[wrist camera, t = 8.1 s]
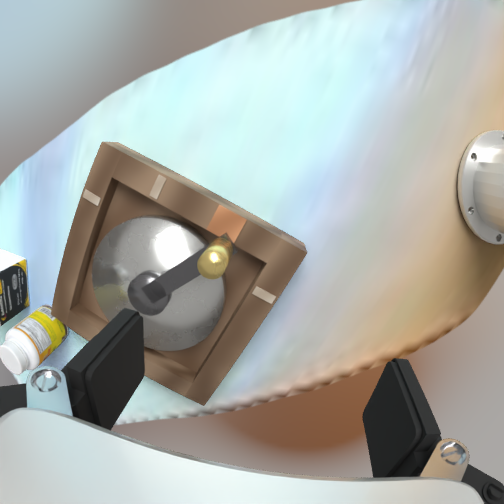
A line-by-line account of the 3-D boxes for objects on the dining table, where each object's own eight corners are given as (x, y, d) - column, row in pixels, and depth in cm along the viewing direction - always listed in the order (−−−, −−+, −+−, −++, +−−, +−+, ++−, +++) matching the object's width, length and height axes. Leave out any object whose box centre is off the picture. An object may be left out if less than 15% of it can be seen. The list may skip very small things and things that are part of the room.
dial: (151, 359, 34) (128, 399, 27) (77, 260, 31) (38, 284, 24) (276, 295, 30) (275, 334, 23) (193, 169, 27) (166, 173, 20)
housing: (304, 243, 30) (307, 253, 26) (209, 388, 36) (203, 406, 32) (118, 142, 28) (101, 141, 25) (64, 303, 34) (49, 314, 31)
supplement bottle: (50, 340, 36) (9, 380, 27) (34, 305, 35) (-13, 340, 25) (76, 337, 36) (34, 381, 26) (59, 299, 34) (10, 338, 24)
